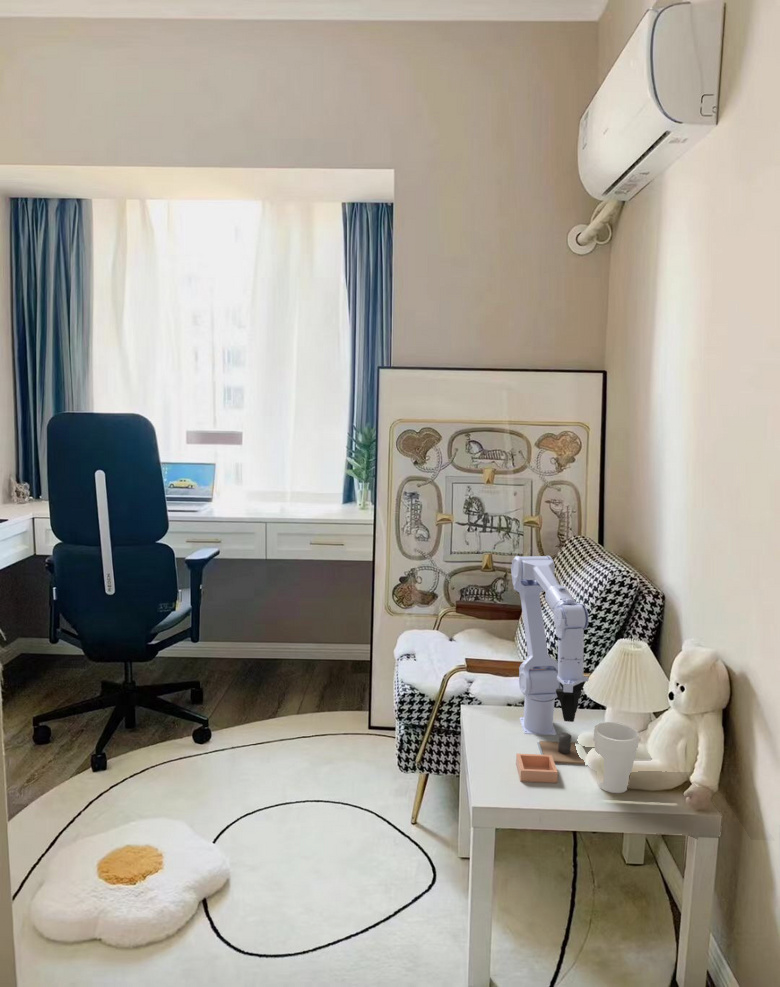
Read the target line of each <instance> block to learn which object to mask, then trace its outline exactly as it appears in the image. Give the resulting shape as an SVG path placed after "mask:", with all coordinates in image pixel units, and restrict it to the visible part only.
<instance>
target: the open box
mask: <svg viewBox="0 0 780 987" xmlns="http://www.w3.org/2000/svg"><path fill="white" fill-rule="evenodd" d="M515 765H516V770H517V773H518V777H519V781H520V782H522V783H523V782H524V783H547V784H549V783H550V784H558V776H559V775H558V774H559V773H558V772H559V771H558V769H557V765H555V763H554V760H553V757H552V755H541V754H537V753H533V754H532V753H516V758H515Z"/></svg>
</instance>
